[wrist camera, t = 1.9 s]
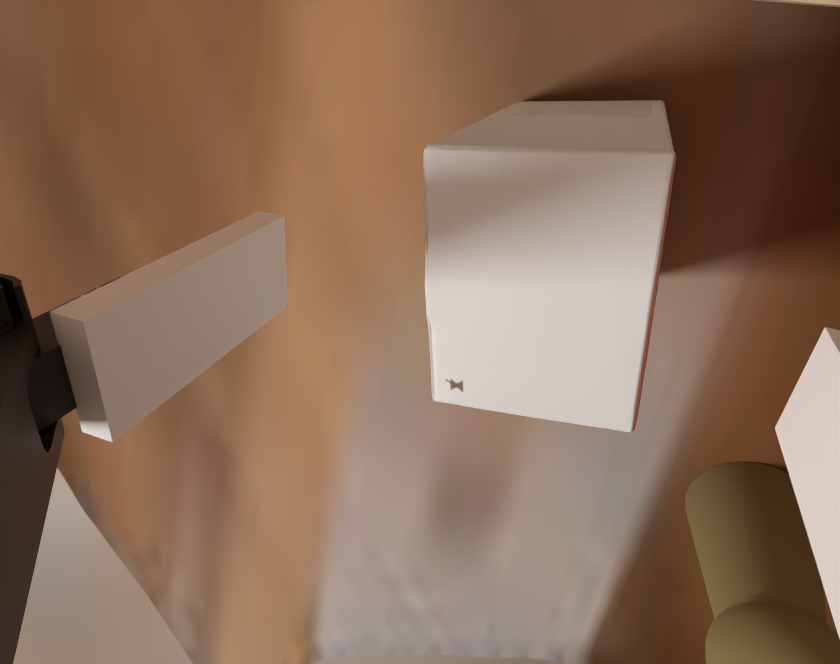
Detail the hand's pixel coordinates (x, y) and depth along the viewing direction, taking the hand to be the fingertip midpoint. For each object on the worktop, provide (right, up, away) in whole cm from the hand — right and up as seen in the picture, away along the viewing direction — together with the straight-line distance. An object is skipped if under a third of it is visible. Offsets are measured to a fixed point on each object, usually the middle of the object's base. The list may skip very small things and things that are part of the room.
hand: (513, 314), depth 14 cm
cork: (+15, -10, +16) cm, 24 cm away
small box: (+5, +6, +12) cm, 15 cm away
